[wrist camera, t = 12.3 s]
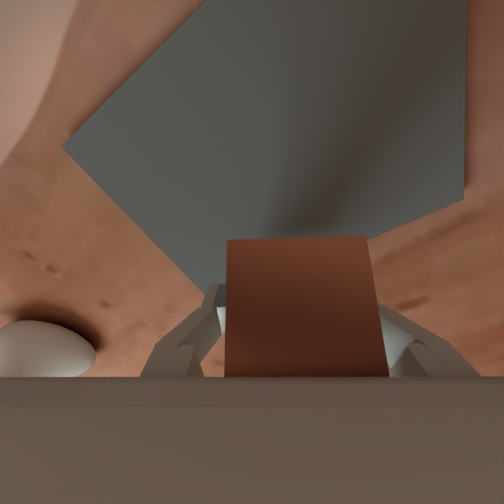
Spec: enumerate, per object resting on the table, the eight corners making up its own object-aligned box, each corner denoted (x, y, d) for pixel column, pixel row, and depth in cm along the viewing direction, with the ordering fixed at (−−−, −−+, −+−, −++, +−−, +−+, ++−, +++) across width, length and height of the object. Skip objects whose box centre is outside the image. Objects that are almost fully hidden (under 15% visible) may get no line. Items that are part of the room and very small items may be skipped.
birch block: (247, 274, 16) (226, 239, 6) (299, 273, 16) (366, 235, 6) (247, 330, 15) (224, 397, 5) (303, 329, 15) (393, 398, 5)
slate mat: (450, -229, 7) (472, -270, 6) (454, 196, 15) (463, 198, 14) (71, 146, 13) (61, 146, 13) (215, 298, 21) (213, 304, 21)
